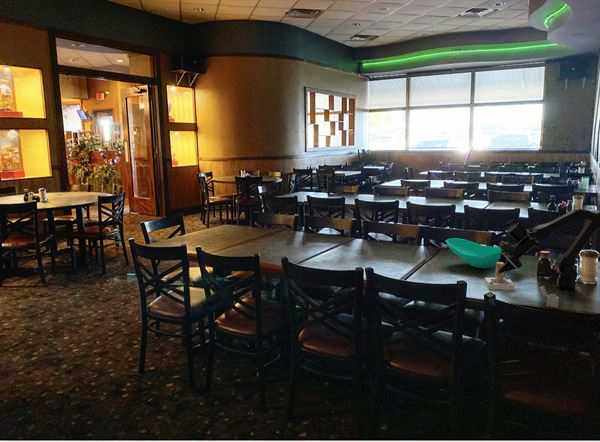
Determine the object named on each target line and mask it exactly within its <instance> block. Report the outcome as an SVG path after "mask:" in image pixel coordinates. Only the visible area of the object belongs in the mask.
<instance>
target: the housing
mask: <svg viewBox="0 0 600 442" xmlns="http://www.w3.org/2000/svg"><path fill="white" fill-rule="evenodd" d="M484 283H485V285H486V284H487V285H486V287H487V288H488V287H489V288H488V290H493V289H503V290H502V291H515V286H516V285H515V283H514V282H513V281H512V280H511V279H510V276H504V277H503V283H495V277H484Z"/></svg>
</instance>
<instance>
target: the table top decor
mask: <svg viewBox="0 0 600 442" xmlns="http://www.w3.org/2000/svg"><path fill="white" fill-rule="evenodd" d="M445 242H446V245H447V247H448V248H449V249H450V250H451V251H452V252H453V253H454V254H455V255H456V256H458V257H459V258H460V259H461V260H462V261H464V262H465V263H466V264H468V265H469V266H471V267H474V268H477V269H478V268H479V269H490V268H492V267H494V265H495V264H496V262H497V261H498V259H499V258H500V252H501V251H500V250H501V248H500V247H498V246H492V245H482V244H479V243H476V242H473V241H472V240H468V239H463V238H457V237H453V238H452V237H451V238H448V239H446V240H445ZM501 253H502V252H501Z"/></svg>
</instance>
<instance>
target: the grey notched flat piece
mask: <svg viewBox="0 0 600 442" xmlns="http://www.w3.org/2000/svg"><path fill="white" fill-rule="evenodd" d="M539 289H540V292H541V294H542V297H545V298H546V305H545V306H546V307H549V306H550V308H554V307H555V309H558V308H559V299H560V297H559V296H557V295H556V294H555V293H550V294H548V292H547V290H546V287H545V286H544V285H542V286H540V287H539Z"/></svg>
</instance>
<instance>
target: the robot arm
mask: <svg viewBox="0 0 600 442" xmlns="http://www.w3.org/2000/svg"><path fill="white" fill-rule="evenodd" d="M578 219H583V220H584V219H585V222H584V226H583V228H582V230H580V232H579V234H578V235H577V237H576V238H575V239H574V241H572V244H571V245H570V246H569V248H568V249H567V251H566V252H564V253H563V254H562V253H558V255H557V257H556V258H555V259H554V264H553V265H554V268H555V269H556V270H557V271H558V273H559V274H558V275H559V276H557V282H556V283H557V287H558V289H559V290H567V291H576V278H577V277H578V275H579V273H578V272H577V271H576V270H575V269H574V267H575V265H576V259H577V257H578V256H579V254H580V253H581V252H582V250H583V249H584V248H585V246H586V244H587V243H588V242H589V240H590V239H591V237H592V236H593V235H594V233H595V232H596V231H598V230H599V229H600V210H597V209H593V210H587V209H582V208H580V207H575V208H573V209H572V210H570V211H568V212H567V213H565V214H563V215H561V216H559V217H557V218H554V219H553V220H551V221H549V222H547V223H543V224H539V225H536V226H534V227H532V228H528V229H525V228H524V227H523V225H522V224H521V223H519V222H517V223H515V224H513V225H511V226H510V227H509V228H508V229H507V230H506V233H507V234H508V235H509V236H510V237H511V238H512V239H514V240H515V241H516V242H518V241H519V242H518V243H513V244H512V242H511V243H510V242H508V241H507V242H505V241H503V240H500V241H499V244H498V246H497V247H500V248H501V250H500V251H501V252H502V253H501V252H500V258H499V259H498V261H497V262H503V263H504V265H503V267H502V268H501V269H500V270H499V271H498V272H499V273H503V272H504V273H506V272H509V271H512V270H517V269H518V270H519V269H520V268H521V267H522V266H523V263H522V262H521V261H520V259H522V258H523V257H526V256H527V253H528V252H529V251H530V250H532V249H533V248H534V247H536V248H537V249H540V248H541V241H545V240H546V239H548V238H549V237H550V236H551V235H553V233H554V232H556V231H557V230H560V229H561V228H563V227H564V226H567V225H568V224H571V223H572V222H575V221H576V220H578ZM535 239H536V240H535ZM493 268H495V269H496V264H495V265H494V266H493Z"/></svg>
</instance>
